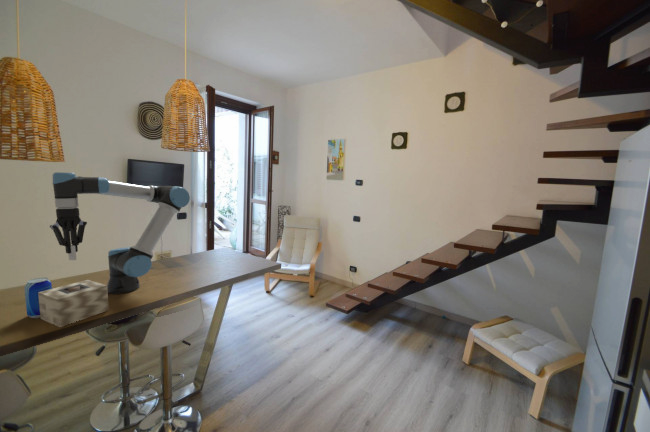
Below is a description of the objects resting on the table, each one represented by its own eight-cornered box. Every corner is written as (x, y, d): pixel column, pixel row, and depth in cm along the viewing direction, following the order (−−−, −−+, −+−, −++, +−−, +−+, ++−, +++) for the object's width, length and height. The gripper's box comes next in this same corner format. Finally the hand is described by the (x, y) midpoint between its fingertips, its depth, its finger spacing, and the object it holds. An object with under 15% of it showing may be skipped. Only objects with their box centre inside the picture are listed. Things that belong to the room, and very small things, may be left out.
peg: (83, 310, 128) (81, 287, 127) (72, 314, 124) (71, 290, 123) (78, 308, 130) (76, 285, 128) (67, 312, 126) (65, 288, 125)
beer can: (33, 320, 121) (30, 284, 119) (23, 316, 124) (19, 281, 122) (58, 312, 128) (55, 278, 127) (47, 308, 132) (44, 275, 130)
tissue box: (89, 303, 139) (87, 279, 137) (108, 310, 132) (107, 285, 131) (40, 318, 122) (38, 292, 121) (60, 327, 116) (58, 299, 114)
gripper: (79, 206, 131) (84, 255, 135) (43, 208, 119) (49, 262, 123) (89, 206, 129) (94, 257, 132) (53, 209, 117) (60, 264, 120)
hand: (72, 259), depth 127 cm, fingers closed
